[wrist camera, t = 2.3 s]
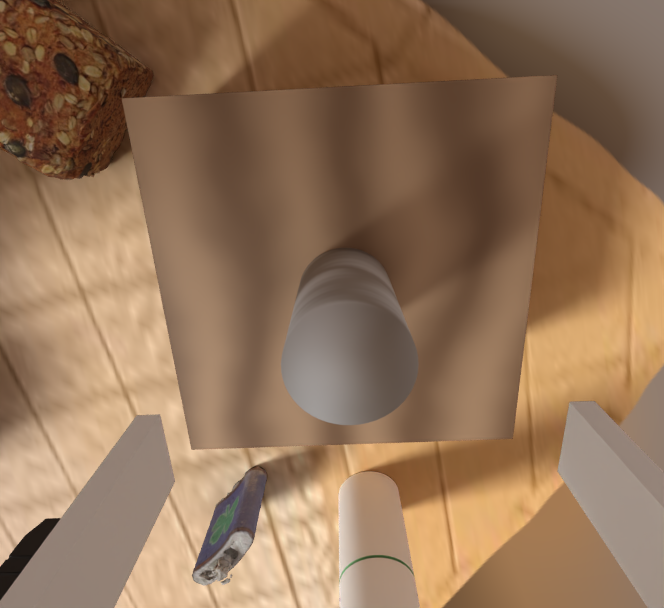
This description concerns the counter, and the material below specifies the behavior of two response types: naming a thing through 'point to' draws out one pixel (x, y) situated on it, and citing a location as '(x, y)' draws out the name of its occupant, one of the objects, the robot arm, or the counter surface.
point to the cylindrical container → (373, 545)
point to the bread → (62, 89)
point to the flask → (231, 529)
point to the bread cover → (346, 256)
